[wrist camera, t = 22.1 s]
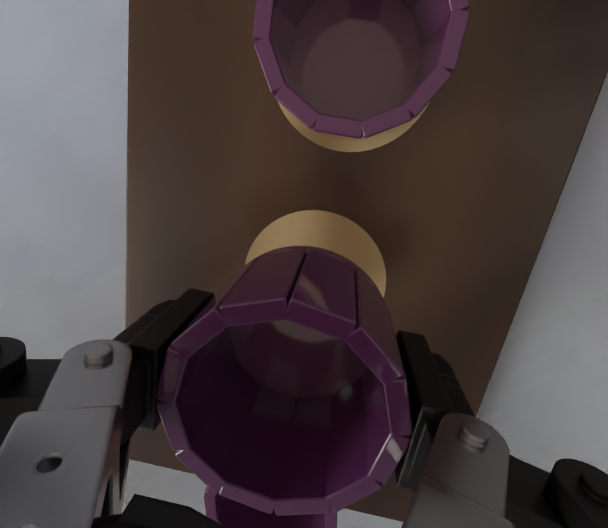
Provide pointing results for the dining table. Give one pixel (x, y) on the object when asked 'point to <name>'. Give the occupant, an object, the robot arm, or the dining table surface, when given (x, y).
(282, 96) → the plum dish
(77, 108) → the dining table surface
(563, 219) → the dining table surface
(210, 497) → the plum dish
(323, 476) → the plum dish
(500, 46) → the metal board
